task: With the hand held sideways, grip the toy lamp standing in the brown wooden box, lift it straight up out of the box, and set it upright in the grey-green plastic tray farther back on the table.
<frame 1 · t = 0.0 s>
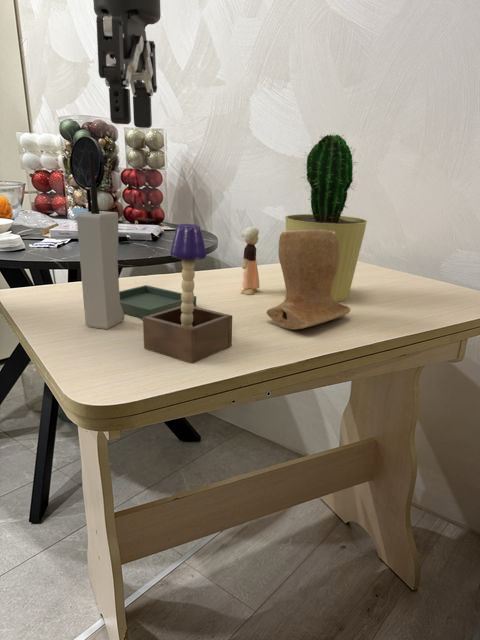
hand: (132, 125, 65), 28 cm above the table, tool pointing down, fingers open, 8 cm apart
toy lamp: (188, 348, 72), resting in brown wooden box
brown flared block: (303, 321, 87), on the table
tray: (147, 306, 91), on the table
potted cactus: (319, 295, 103), on the table
brown wooden box: (188, 347, 72), on the table
grandmother figurine: (249, 292, 104), on the table
utensil holder: (105, 325, 81), on the table
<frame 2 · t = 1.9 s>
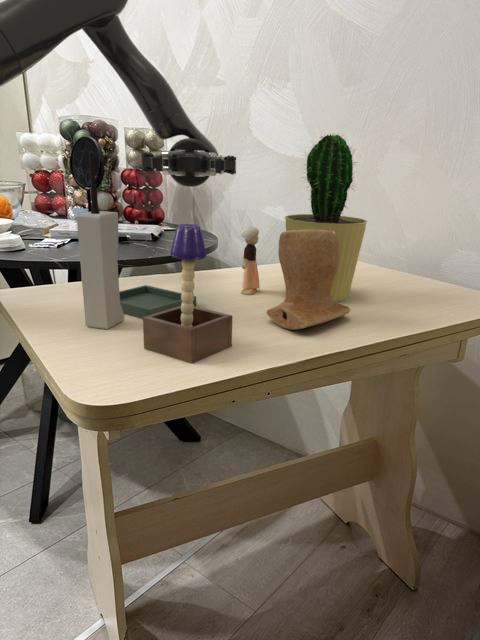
hand: (188, 164, 74), 24 cm above the table, tool horizontal, fingers open, 8 cm apart
nothing on the table moved.
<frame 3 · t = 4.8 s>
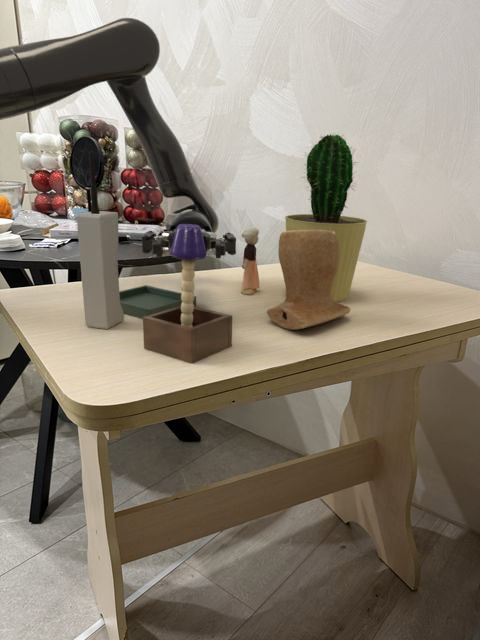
hand: (189, 250, 75), 12 cm above the table, tool horizontal, fingers open, 8 cm apart
nothing on the table moved.
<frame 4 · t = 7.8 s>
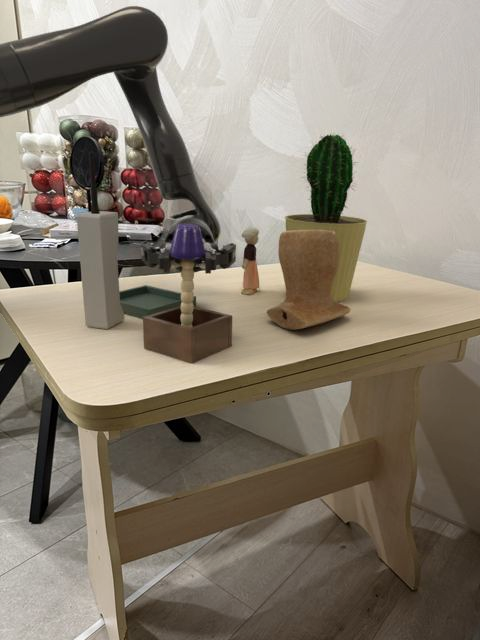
hand: (187, 265, 66), 12 cm above the table, tool horizontal, fingers closed on toy lamp, 4 cm apart
toy lamp: (188, 348, 72), resting in brown wooden box, touching gripper
everything else where it was.
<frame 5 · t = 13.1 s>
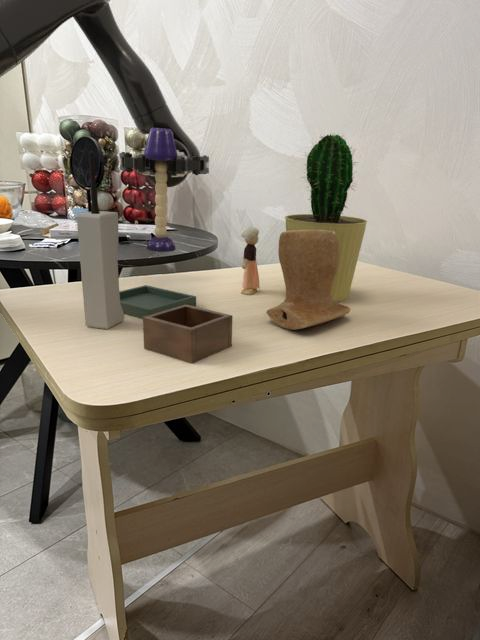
hand: (159, 164, 71), 24 cm above the table, tool horizontal, fingers closed on toy lamp, 4 cm apart
toy lamp: (163, 251, 77), point 11 cm above the table, touching gripper
everything else where it was.
when the fingers open (13 cm above the table, at t = 18.3 s): toy lamp stays where it is, resting on tray.
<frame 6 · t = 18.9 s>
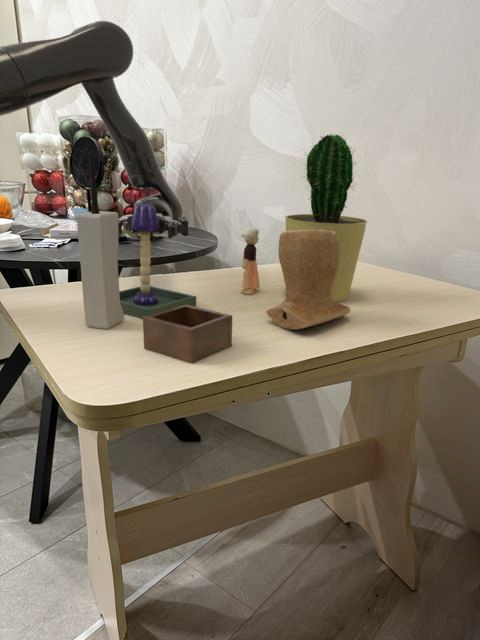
hand: (143, 231, 84), 13 cm above the table, tool horizontal, fingers open, 8 cm apart
toy lamp: (147, 303, 91), resting on tray
everything else where it was.
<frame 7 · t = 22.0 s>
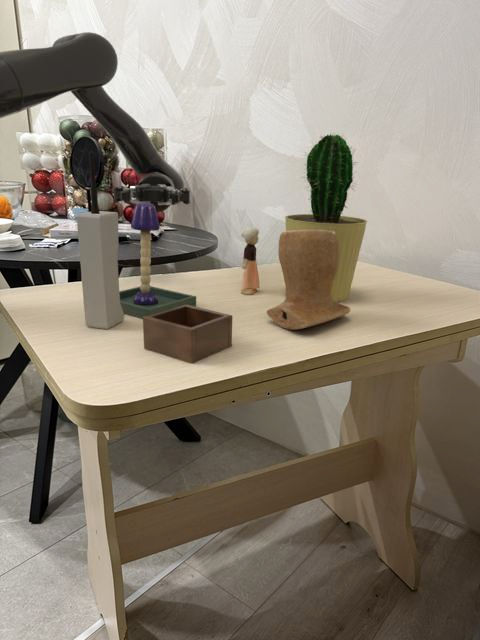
hand: (149, 197, 95), 17 cm above the table, tool horizontal, fingers open, 8 cm apart
nothing on the table moved.
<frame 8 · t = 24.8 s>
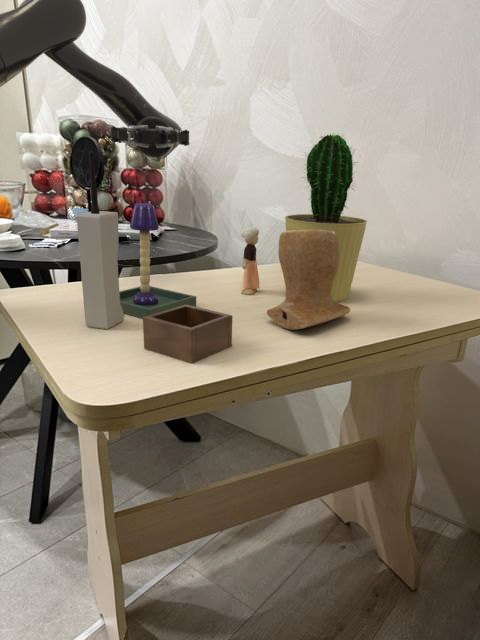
hand: (147, 135, 91), 28 cm above the table, tool horizontal, fingers open, 8 cm apart
nothing on the table moved.
at the end: toy lamp inside the target area in the tray (0.2 cm from its centre), point 0.4 cm above the tray's base; toy lamp tilted 1°; toy lamp touching tray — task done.
